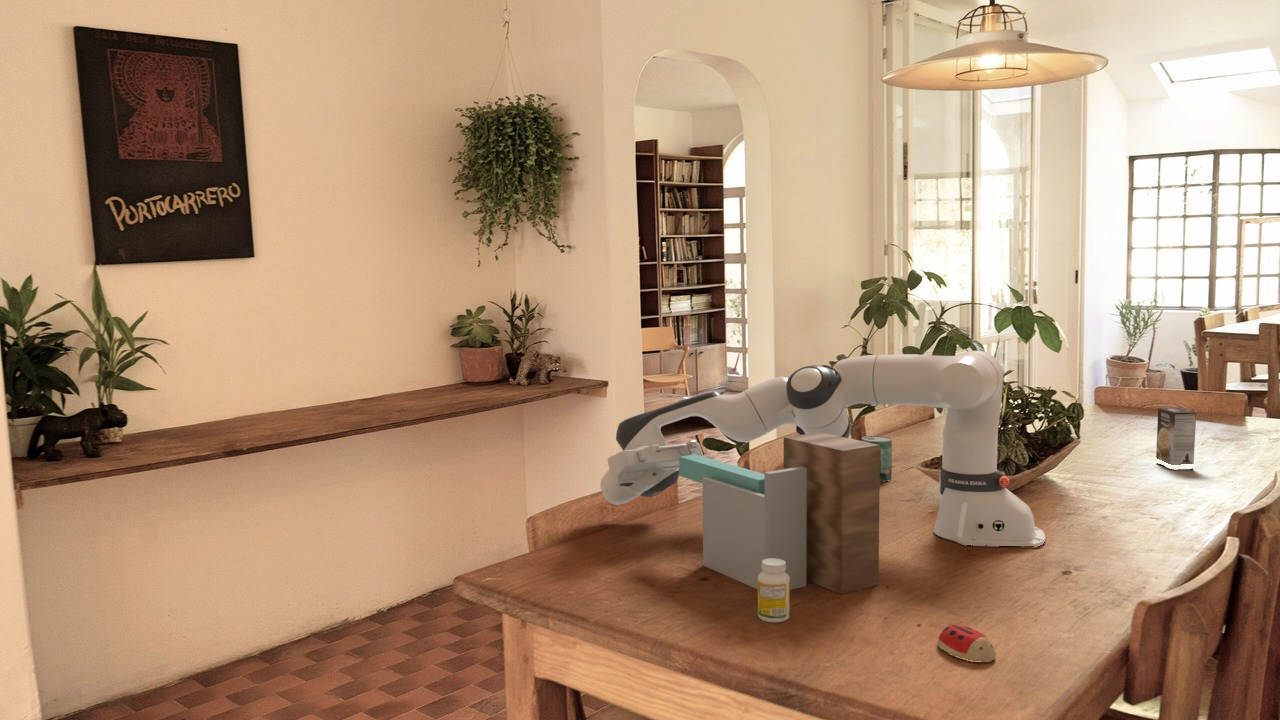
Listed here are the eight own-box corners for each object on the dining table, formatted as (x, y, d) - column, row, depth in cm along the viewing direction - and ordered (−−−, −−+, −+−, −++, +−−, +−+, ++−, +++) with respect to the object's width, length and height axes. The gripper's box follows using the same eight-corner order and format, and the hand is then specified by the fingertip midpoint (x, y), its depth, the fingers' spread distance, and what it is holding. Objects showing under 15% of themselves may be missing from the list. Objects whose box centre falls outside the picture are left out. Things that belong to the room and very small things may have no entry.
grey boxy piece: (703, 565, 194) (702, 454, 192) (737, 557, 198) (737, 449, 196) (770, 594, 177) (769, 473, 174) (806, 586, 181) (806, 467, 179)
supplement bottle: (778, 625, 162) (778, 568, 161) (751, 618, 166) (751, 562, 165) (796, 616, 166) (796, 560, 165) (768, 609, 170) (768, 554, 169)
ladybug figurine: (976, 670, 144) (977, 646, 144) (924, 647, 153) (925, 625, 153) (1007, 659, 148) (1007, 636, 148) (955, 638, 156) (955, 616, 156)
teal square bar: (679, 475, 203) (679, 456, 203) (695, 473, 205) (695, 454, 205) (758, 501, 181) (758, 480, 181) (775, 498, 183) (775, 477, 183)
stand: (783, 570, 190) (783, 437, 187) (819, 562, 195) (819, 432, 192) (842, 594, 176) (842, 450, 174) (878, 584, 181) (879, 444, 178)
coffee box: (1154, 463, 279) (1156, 407, 277) (1177, 463, 279) (1179, 406, 277) (1171, 470, 270) (1173, 412, 268) (1195, 470, 269) (1197, 412, 268)
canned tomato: (895, 477, 267) (896, 437, 265) (886, 483, 260) (886, 442, 259) (867, 474, 271) (867, 434, 270) (857, 480, 264) (857, 439, 263)
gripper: (687, 476, 220) (720, 455, 209) (608, 486, 209) (638, 465, 198) (679, 449, 222) (712, 427, 211) (600, 458, 211) (630, 435, 201)
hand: (675, 445), depth 205 cm, fingers open, 8 cm apart
